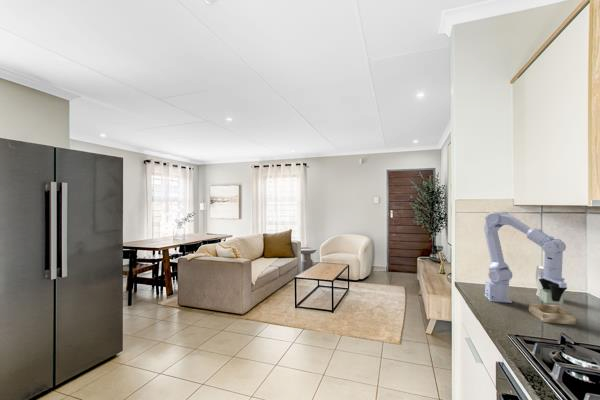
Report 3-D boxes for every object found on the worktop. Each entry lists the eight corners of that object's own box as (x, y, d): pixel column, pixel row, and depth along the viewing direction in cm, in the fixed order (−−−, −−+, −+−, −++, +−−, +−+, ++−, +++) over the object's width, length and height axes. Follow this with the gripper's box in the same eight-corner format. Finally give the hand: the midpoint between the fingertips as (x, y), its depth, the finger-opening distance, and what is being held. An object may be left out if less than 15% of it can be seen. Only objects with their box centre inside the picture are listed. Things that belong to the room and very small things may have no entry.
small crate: (546, 303, 121) (546, 293, 121) (539, 298, 126) (539, 288, 126) (563, 304, 120) (563, 294, 119) (555, 300, 125) (556, 290, 124)
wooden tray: (542, 321, 119) (542, 313, 119) (528, 310, 130) (529, 303, 129) (575, 324, 117) (576, 316, 116) (558, 313, 127) (559, 305, 127)
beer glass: (548, 294, 149) (549, 266, 148) (555, 299, 142) (556, 270, 142) (532, 292, 151) (533, 265, 150) (538, 297, 145) (539, 268, 144)
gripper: (576, 273, 114) (574, 306, 115) (553, 263, 128) (552, 293, 129) (555, 272, 116) (553, 304, 116) (535, 262, 130) (534, 291, 130)
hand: (551, 298), depth 123 cm, fingers closed on small crate, 5 cm apart
